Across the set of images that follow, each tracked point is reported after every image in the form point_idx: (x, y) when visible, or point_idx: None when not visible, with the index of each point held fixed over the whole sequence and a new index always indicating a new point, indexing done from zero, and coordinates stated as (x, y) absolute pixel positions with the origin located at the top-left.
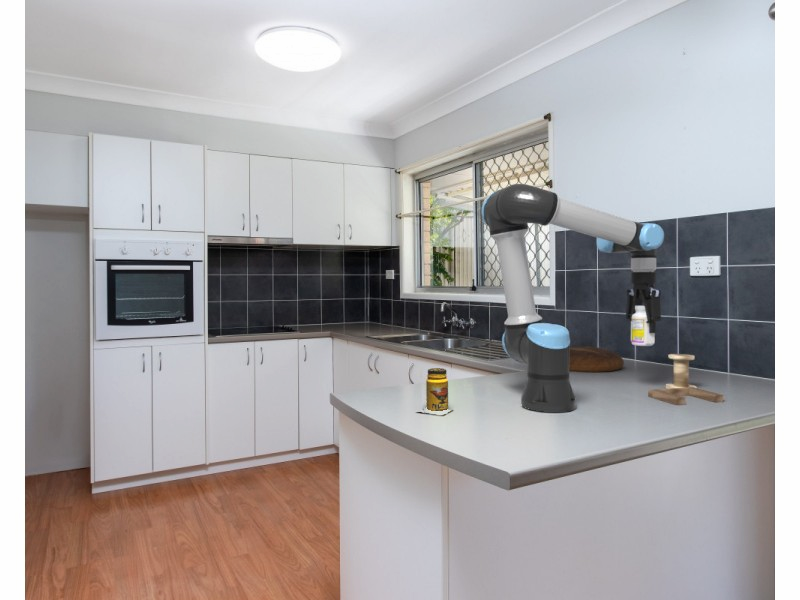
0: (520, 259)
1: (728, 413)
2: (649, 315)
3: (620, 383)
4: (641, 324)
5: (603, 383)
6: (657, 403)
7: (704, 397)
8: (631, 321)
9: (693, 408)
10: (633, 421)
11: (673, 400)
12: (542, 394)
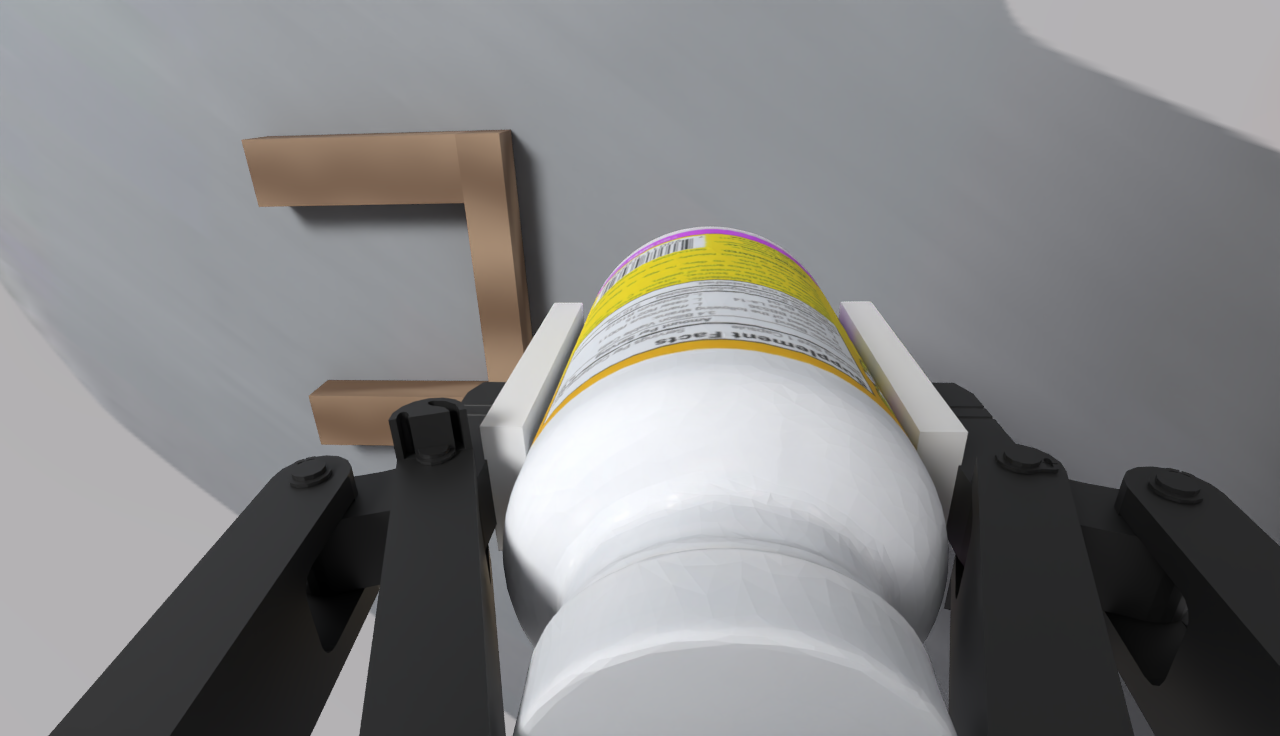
0: None
1: (93, 267)
2: (391, 531)
3: (947, 225)
4: (577, 367)
5: (1005, 96)
6: (314, 49)
7: (388, 385)
8: (952, 430)
9: (190, 174)
10: None
11: (277, 137)
12: None
